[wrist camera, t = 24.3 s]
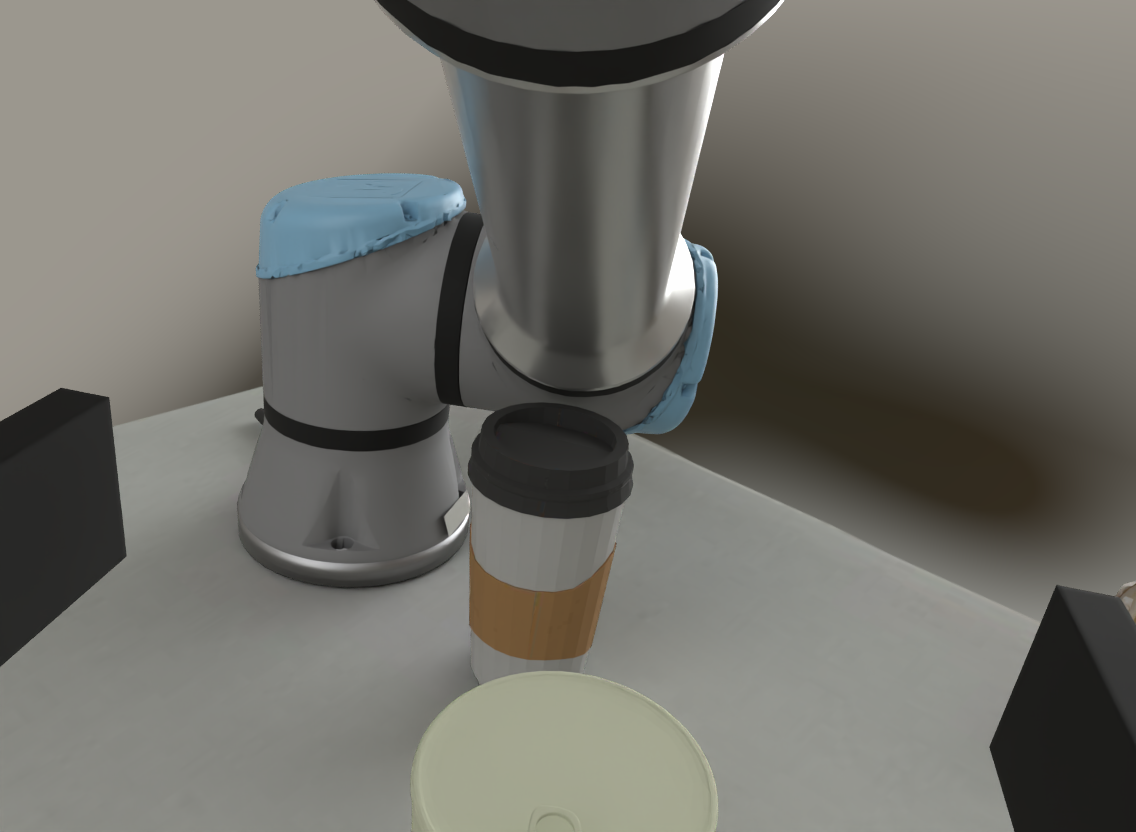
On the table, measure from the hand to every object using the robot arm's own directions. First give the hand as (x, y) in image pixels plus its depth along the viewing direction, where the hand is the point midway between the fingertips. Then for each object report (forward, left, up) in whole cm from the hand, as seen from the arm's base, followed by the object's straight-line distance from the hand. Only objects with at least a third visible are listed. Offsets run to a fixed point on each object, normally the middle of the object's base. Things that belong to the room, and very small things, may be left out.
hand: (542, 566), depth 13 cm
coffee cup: (-19, +23, -28) cm, 41 cm away
